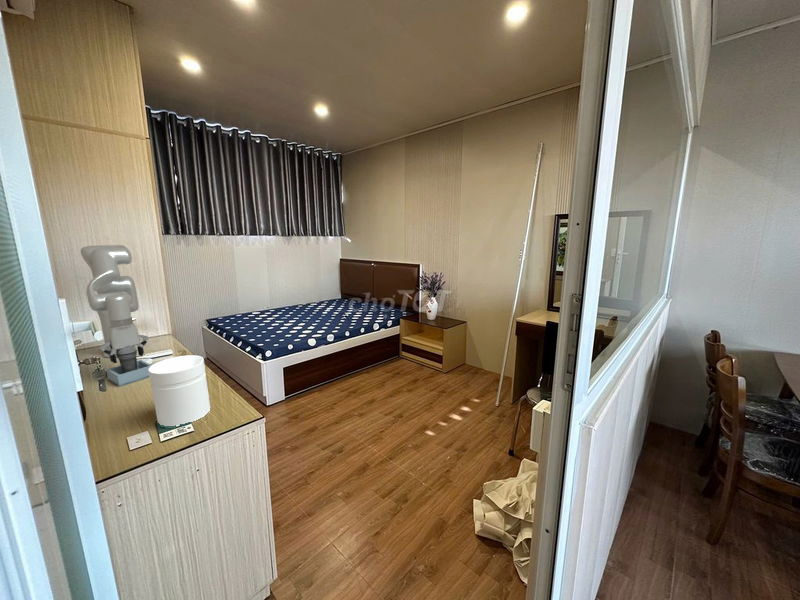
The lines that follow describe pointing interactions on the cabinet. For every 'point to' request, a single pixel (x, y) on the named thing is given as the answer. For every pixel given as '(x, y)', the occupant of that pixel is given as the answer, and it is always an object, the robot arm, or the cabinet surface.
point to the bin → (128, 374)
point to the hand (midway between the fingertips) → (128, 358)
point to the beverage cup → (127, 358)
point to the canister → (179, 390)
